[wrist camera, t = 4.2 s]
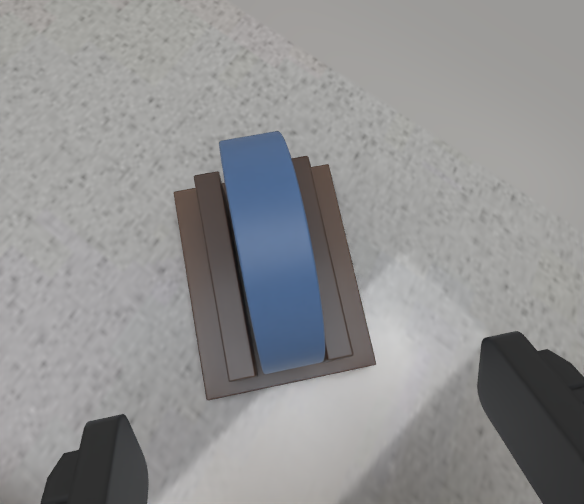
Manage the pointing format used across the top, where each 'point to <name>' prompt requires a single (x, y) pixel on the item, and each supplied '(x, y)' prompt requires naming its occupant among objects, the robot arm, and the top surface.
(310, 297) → the disc
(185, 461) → the top surface
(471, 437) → the top surface
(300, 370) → the rack
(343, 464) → the top surface
